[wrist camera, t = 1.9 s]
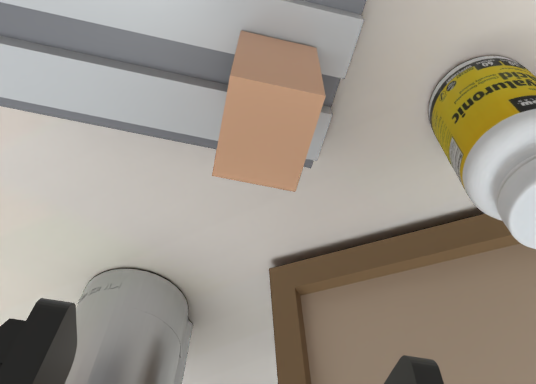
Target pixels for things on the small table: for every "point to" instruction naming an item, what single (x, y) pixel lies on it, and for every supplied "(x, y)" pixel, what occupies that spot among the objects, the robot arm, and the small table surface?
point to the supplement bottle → (491, 138)
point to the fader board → (158, 59)
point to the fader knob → (269, 112)
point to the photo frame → (410, 308)
